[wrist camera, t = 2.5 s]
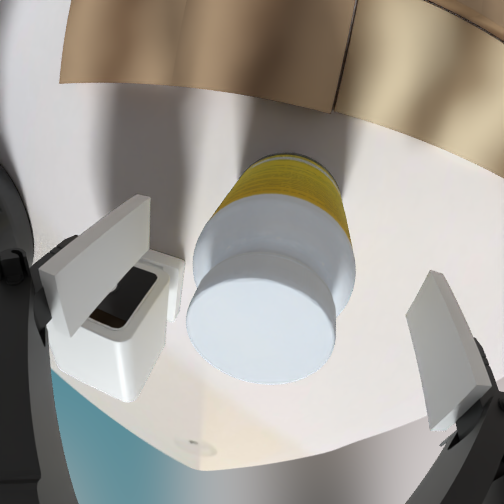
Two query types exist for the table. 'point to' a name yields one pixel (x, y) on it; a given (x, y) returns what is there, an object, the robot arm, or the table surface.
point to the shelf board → (313, 59)
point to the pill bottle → (272, 273)
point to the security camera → (124, 329)
